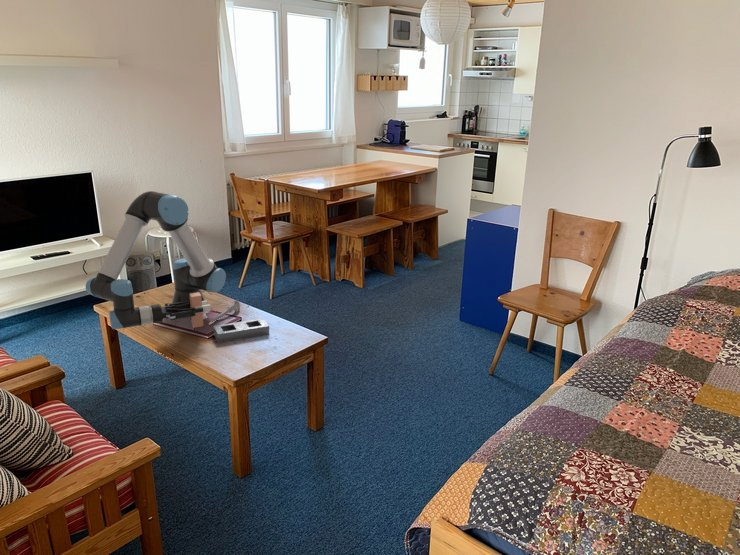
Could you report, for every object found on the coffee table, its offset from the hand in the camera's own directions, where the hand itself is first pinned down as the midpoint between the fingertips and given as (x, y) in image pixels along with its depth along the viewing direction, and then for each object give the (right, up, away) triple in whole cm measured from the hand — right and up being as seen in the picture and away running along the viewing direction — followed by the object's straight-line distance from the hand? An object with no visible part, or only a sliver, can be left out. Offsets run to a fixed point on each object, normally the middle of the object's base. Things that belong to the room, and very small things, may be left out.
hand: (209, 305), depth 241 cm
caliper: (+1, -7, +21) cm, 22 cm away
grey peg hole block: (+13, -13, +5) cm, 19 cm away
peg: (-5, -8, 0) cm, 10 cm away
